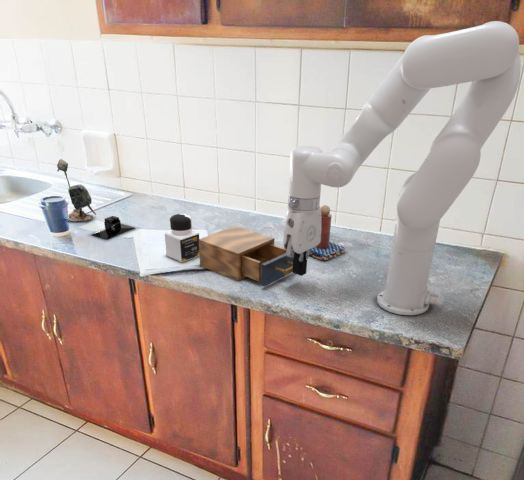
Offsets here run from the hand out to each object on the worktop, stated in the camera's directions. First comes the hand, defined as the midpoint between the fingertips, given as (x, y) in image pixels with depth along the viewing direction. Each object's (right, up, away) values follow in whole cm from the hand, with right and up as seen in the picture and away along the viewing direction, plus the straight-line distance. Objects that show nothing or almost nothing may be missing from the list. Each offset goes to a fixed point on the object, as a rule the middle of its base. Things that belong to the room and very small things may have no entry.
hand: (299, 273), depth 132 cm
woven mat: (+8, +9, +23) cm, 26 cm away
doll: (+8, +11, +22) cm, 26 cm away
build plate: (-57, +18, +35) cm, 70 cm away
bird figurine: (-71, +25, +44) cm, 88 cm away
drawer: (-8, +1, +8) cm, 11 cm away
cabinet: (-17, +4, +14) cm, 22 cm away
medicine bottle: (-33, +8, +19) cm, 38 cm away
